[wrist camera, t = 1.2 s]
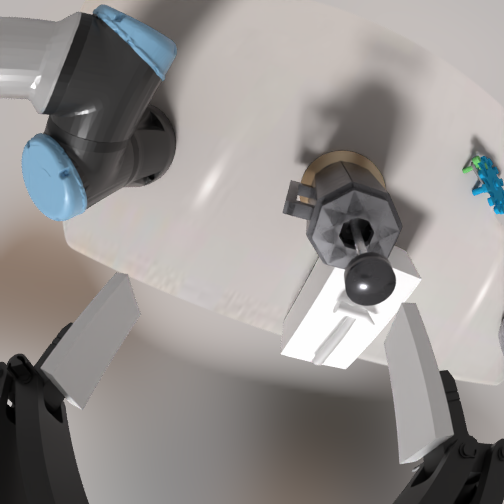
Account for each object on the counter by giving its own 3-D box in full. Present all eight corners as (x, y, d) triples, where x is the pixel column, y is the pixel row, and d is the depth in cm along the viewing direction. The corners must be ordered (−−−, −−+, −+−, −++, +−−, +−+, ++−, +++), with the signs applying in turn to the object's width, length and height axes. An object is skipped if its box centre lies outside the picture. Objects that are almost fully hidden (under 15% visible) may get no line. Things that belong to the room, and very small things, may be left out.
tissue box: (405, 250, 44) (426, 288, 35) (342, 338, 57) (346, 378, 48) (337, 221, 43) (347, 259, 34) (283, 321, 57) (279, 363, 48)
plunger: (313, 237, 35) (312, 309, 23) (331, 181, 31) (344, 230, 19) (368, 253, 34) (389, 326, 23) (390, 200, 30) (429, 258, 19)
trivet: (290, 220, 46) (290, 222, 45) (311, 139, 38) (311, 139, 38) (368, 242, 44) (368, 244, 44) (396, 167, 37) (397, 168, 37)
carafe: (283, 211, 44) (271, 254, 32) (299, 147, 39) (294, 166, 27) (363, 233, 43) (379, 283, 31) (385, 174, 38) (415, 205, 26)
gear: (511, 189, 31) (507, 225, 28) (488, 197, 36) (481, 232, 34) (482, 139, 30) (477, 169, 27) (460, 151, 36) (450, 182, 33)
